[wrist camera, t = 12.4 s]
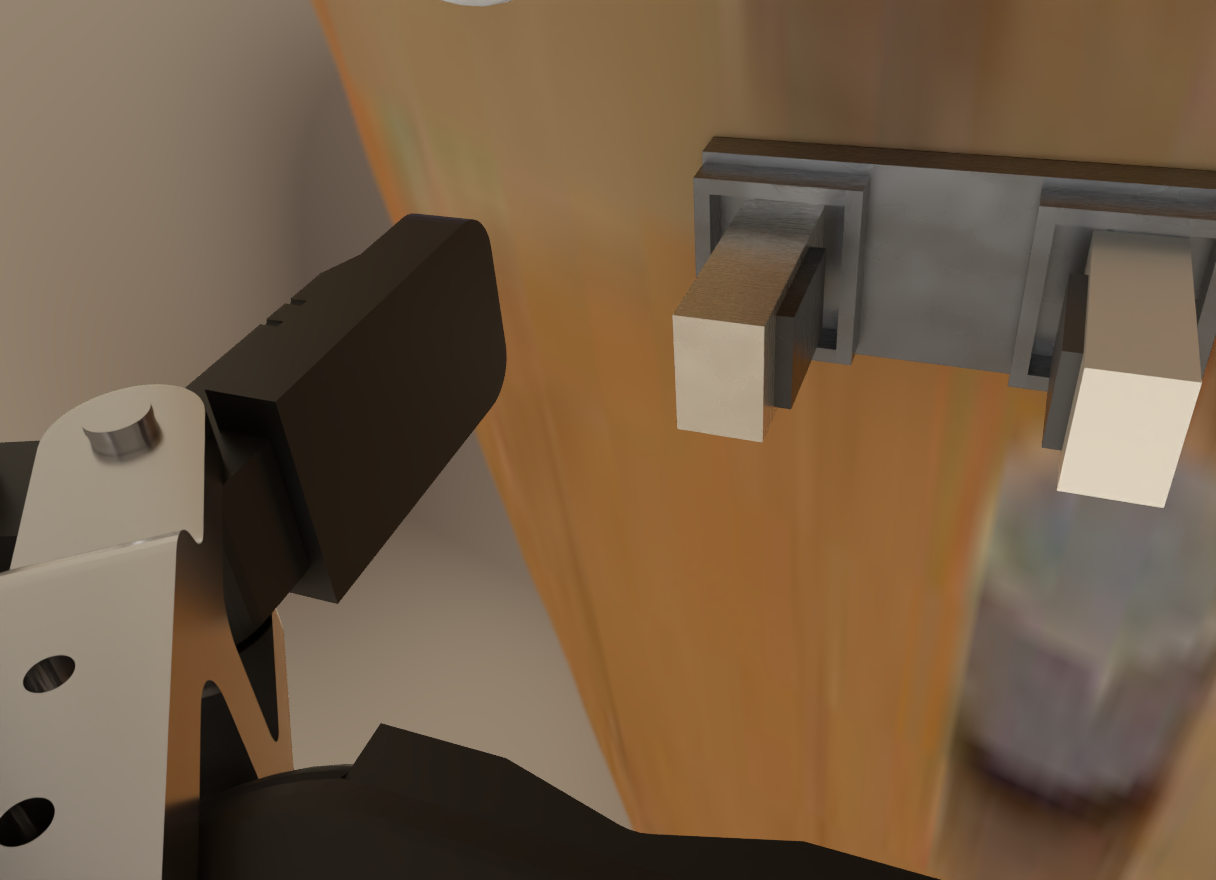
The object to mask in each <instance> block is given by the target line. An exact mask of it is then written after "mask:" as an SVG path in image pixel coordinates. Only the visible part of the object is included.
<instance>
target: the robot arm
mask: <svg viewBox="0 0 1216 880" xmlns="http://www.w3.org/2000/svg"><path fill="white" fill-rule="evenodd" d="M505 370H506V344H505V337H504V330H503V324H502V317H501V311H500V304H499V297H498V291H497V284H496V277H495V271H494V264H493V257H492V251H491V245H490V240H489V237H488V234H487V232H486V230H485V228H484V226H483V225H482V224H481V223H480V222H479V221H477V220H473V219H463V218H453V217H443V216H433V215H424V214H409V215H406V216H405V217H403V218H402V219H401V220H400V221H399V222H397V223H396V224H395V225H394V226H393V227H392V228H391V229H389V230H388V231H387V232H386V233H385V234H384V235H382V236H381V237H380V238H379V239H378V240H377V241H375V242H374V243H373V244H372V245H371V246H370V247H369V248H367V249H366V250H365V251H364V252H363V253H362V254H360V255H358V256H356V257H354V258H352V259H350V260H348V261H346V262H344V263H341V264H339V265H337V266H335V267H333V268H331V269H329V270H327V271H325V272H323V273H320V274H319V275H318V276H317V277H316V278H315V279H314V280H312V281H311V282H310V283H309V284H307V286H305V287H304V288H303V289H302V290H300V291H299V292H298V293H297V294H296V295H295V296H293V297H292V298H291V304H284V305H283V306H282V307H281V308H279V309H278V310H277V311H276V312H274V313H273V314H272V315H271V316H270V317H269V318H267V323H266V325H261V324H260V325H259V326H258V327H257V328H255V329H254V330H253V331H252V332H251V333H250V334H248V335H247V336H246V337H245V338H244V339H242V340H241V341H240V342H239V343H238V344H237V345H235V346H234V347H233V348H232V349H231V350H229V351H228V352H227V353H226V354H225V355H224V356H222V357H221V358H220V359H219V360H218V361H216V362H215V363H214V364H213V365H212V366H210V367H209V368H208V369H207V370H206V371H205V372H203V373H202V374H201V375H200V376H199V377H197V378H196V379H195V380H194V381H193V382H192V383H190V384H189V385H188V386H187V387H186V388H182V387H179V386H173V385H165V384H151V385H139V386H133V387H127V388H123V389H120V390H115V391H112V392H109V393H106V394H103V395H100V396H98V397H95V398H93V399H91V400H88V401H86V402H84V403H83V404H80V405H78V406H77V407H75V408H73V409H72V410H70V411H69V412H67V413H65V414H64V415H63V416H61V417H60V418H59V419H58V420H57V421H55V422H54V423H53V424H52V425H51V426H50V427H49V428H48V430H47V431H46V432H45V434H44V435H43V437H42V438H41V440H40V441H25V442H5V443H0V880H940V879H936V878H932V877H929V876H925V875H922V874H918V873H915V872H911V871H907V870H904V869H900V868H897V867H893V866H890V865H886V864H882V863H879V862H875V861H872V860H868V859H865V858H861V857H857V856H854V855H850V854H847V853H843V852H840V851H836V850H832V849H829V848H825V847H822V846H818V845H814V844H811V843H807V842H804V841H783V840H762V839H741V838H720V837H699V836H678V835H657V834H646V833H639V832H636V831H632V830H629V829H627V828H625V827H623V826H620V825H619V824H617V823H615V822H613V821H612V820H610V819H608V818H607V817H605V816H603V815H602V814H600V813H598V812H596V811H595V810H593V809H591V808H590V807H588V806H586V805H584V804H583V803H581V802H579V801H578V800H576V799H574V798H572V797H571V796H569V795H568V794H566V793H564V792H563V791H561V790H559V789H557V788H556V787H554V786H552V785H551V784H549V783H547V782H546V781H544V780H542V779H540V778H539V777H537V776H535V775H534V774H532V773H530V772H529V771H527V770H525V769H523V768H522V767H520V766H518V765H517V764H515V763H513V762H511V761H510V760H508V759H506V758H503V757H500V756H496V755H492V754H489V753H485V752H482V751H478V750H475V749H471V748H468V747H464V746H460V745H457V744H453V743H450V742H446V741H442V740H439V739H435V738H432V737H428V736H425V735H421V734H417V733H414V732H410V731H407V730H403V729H399V728H396V727H392V726H389V725H385V724H382V723H381V724H380V725H379V727H378V728H377V730H376V731H375V733H374V734H373V736H372V738H371V739H370V740H369V742H368V743H367V745H366V746H365V748H364V750H363V751H362V752H361V754H360V755H359V757H358V758H357V760H356V762H355V763H354V764H341V765H329V766H317V767H309V768H304V769H298V770H294V768H293V755H292V740H291V727H290V712H289V698H288V684H287V670H286V656H285V642H284V631H283V626H282V623H281V620H280V617H279V614H278V611H277V609H276V607H277V606H278V605H279V604H280V603H281V602H282V600H283V599H284V598H285V597H286V596H287V594H288V593H289V592H290V593H295V594H299V595H303V596H307V597H311V598H315V599H320V600H324V601H328V602H332V603H336V604H338V603H339V602H340V600H341V599H342V598H343V596H344V595H345V594H346V593H347V591H348V590H349V589H350V587H351V586H352V585H353V584H354V582H355V581H356V580H357V579H358V577H359V576H360V575H361V573H362V572H363V571H364V569H365V568H366V567H367V565H368V564H369V563H370V562H371V561H372V559H373V558H374V557H375V556H376V554H377V553H378V552H379V550H380V549H381V548H382V547H383V545H384V544H385V543H386V541H387V540H388V539H389V538H390V536H391V535H392V534H393V532H394V531H395V530H396V529H397V527H398V526H399V525H400V524H401V522H402V521H403V519H404V518H405V517H406V516H407V515H408V513H409V512H410V511H411V510H412V508H413V507H414V506H415V504H416V503H417V502H418V501H419V499H420V498H421V497H422V495H423V494H424V493H425V492H426V490H427V489H428V488H429V486H430V485H431V484H432V483H433V481H434V480H435V479H436V478H437V476H438V475H439V474H440V472H441V471H442V470H443V469H444V467H445V466H446V465H447V463H448V462H449V461H450V460H451V458H452V457H453V456H454V455H455V453H456V452H457V451H458V449H459V448H460V447H461V446H462V444H463V443H464V442H465V440H466V439H467V438H468V437H469V435H470V434H471V433H472V432H473V430H474V429H475V428H476V426H477V425H478V424H479V423H480V421H481V420H482V419H483V417H484V416H485V415H486V414H487V412H488V411H489V410H490V409H491V407H492V406H493V404H494V403H495V402H496V400H497V398H498V396H499V393H500V391H501V388H502V385H503V381H504V376H505Z"/></svg>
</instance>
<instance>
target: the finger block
mask: <svg viewBox="0 0 1216 880" xmlns="http://www.w3.org/2000/svg"><path fill="white" fill-rule="evenodd" d="M1201 384H1202V378H1201V367H1200V355H1199V343H1198V331H1197V319H1196V307H1195V296H1194V284H1193V272H1192V260H1191V248H1190V238H1179V237H1168V236H1156V235H1145V234H1134V233H1123V232H1112V231H1101V230H1093V234H1092V239H1091V243H1090V248H1089V253H1088V257H1087V262H1086V267H1085V272H1084V275H1082V274H1072V273H1069V276H1068V281H1067V286H1066V291H1065V296H1064V301H1063V306H1062V311H1061V316H1060V321H1059V326H1058V331H1057V335H1056V340H1055V345H1054V350H1053V355H1052V360H1051V365H1050V374H1049V384H1048V393H1047V402H1046V412H1045V421H1044V430H1043V439H1042V448H1049V449H1055V450H1060V459H1059V471H1058V483H1057V491H1063V492H1069V493H1075V494H1081V495H1087V496H1093V497H1099V498H1105V499H1112V500H1118V501H1124V502H1130V503H1136V504H1142V505H1148V506H1154V507H1160V508H1164V505H1165V502H1166V499H1167V496H1168V492H1169V489H1170V486H1171V482H1172V479H1173V476H1174V473H1175V469H1176V466H1177V463H1178V459H1179V456H1180V453H1181V450H1182V446H1183V443H1184V440H1185V436H1186V433H1187V430H1188V427H1189V423H1190V420H1191V417H1192V414H1193V410H1194V407H1195V404H1196V400H1197V397H1198V394H1199V391H1200V387H1201Z"/></svg>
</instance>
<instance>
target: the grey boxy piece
mask: <svg viewBox="0 0 1216 880" xmlns="http://www.w3.org/2000/svg"><path fill="white" fill-rule="evenodd" d="M702 158H703V165H702V167H701V168H700V169H699V171H698V172H697V174H696V175H695V176H694V178H693V184H694V220H695V256H696V279H695V281H694V282H693V284H692V285H691V287H690V288H689V290H688V292H687V293H686V295H685V296H684V298H683V299H682V301H681V303H680V304H679V306H678V307H677V309H676V311H675V312H674V314H673V336H674V359H675V382H676V405H677V428H678V429H682V430H689V431H695V432H701V433H707V434H713V435H720V436H726V437H732V438H738V439H745V440H751V441H757V442H763V441H764V438H765V436H766V434H767V431H768V429H769V427H770V424H771V422H772V420H773V418H774V415H775V413H776V411H777V408H778V407H779V408H786V409H791V408H792V406H793V403H794V401H795V399H796V396H797V394H798V391H799V389H800V387H801V384H802V382H803V379H804V377H805V375H806V372H807V370H808V367H809V365H810V363H811V360H816V361H823V362H830V363H838V364H845V365H851V364H852V361H853V358H854V355H855V354H861V355H869V356H877V357H884V358H892V359H900V360H907V361H915V362H923V363H930V364H938V365H946V366H953V367H961V368H969V369H976V370H984V371H992V372H1000V373H1007V374H1010V376H1009V382H1008V386H1010V387H1017V388H1024V389H1032V390H1039V391H1047V392H1048V384H1049V374H1050V365H1051V360H1052V355H1053V350H1054V345H1055V340H1056V335H1057V331H1058V326H1059V321H1060V316H1061V311H1062V306H1063V301H1064V296H1065V291H1066V286H1067V281H1068V276H1069V273H1072V274H1082V275H1084V272H1085V267H1086V262H1087V257H1088V253H1089V248H1090V243H1091V239H1092V234H1093V230H1101V231H1112V232H1123V233H1134V234H1145V235H1156V236H1168V237H1179V238H1190V248H1191V260H1192V272H1193V284H1194V296H1195V307H1196V319H1197V331H1198V343H1199V355H1200V367H1201V378H1203V375H1204V372H1205V368H1206V365H1207V361H1208V358H1209V355H1210V351H1211V348H1212V345H1213V341H1214V338H1215V335H1216V171H1204V170H1189V169H1175V168H1160V167H1146V166H1131V165H1116V164H1102V163H1087V162H1073V161H1058V160H1044V159H1029V158H1015V157H1000V156H986V155H971V154H957V153H942V152H928V151H913V150H898V149H884V148H869V147H855V146H840V145H826V144H811V143H797V142H782V141H768V140H753V139H739V138H724V137H713V138H712V140H711V141H710V142H709V144H708V145H707V146H706V147H705V149H704V150H703V151H702Z"/></svg>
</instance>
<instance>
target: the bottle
mask: <svg viewBox="0 0 1216 880" xmlns="http://www.w3.org/2000/svg"><path fill="white" fill-rule="evenodd" d="M442 1H446V2H451V3H455V4H459V5H466V6H489V5H494V4H499V3H505V2H509V1H512V0H442Z"/></svg>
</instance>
